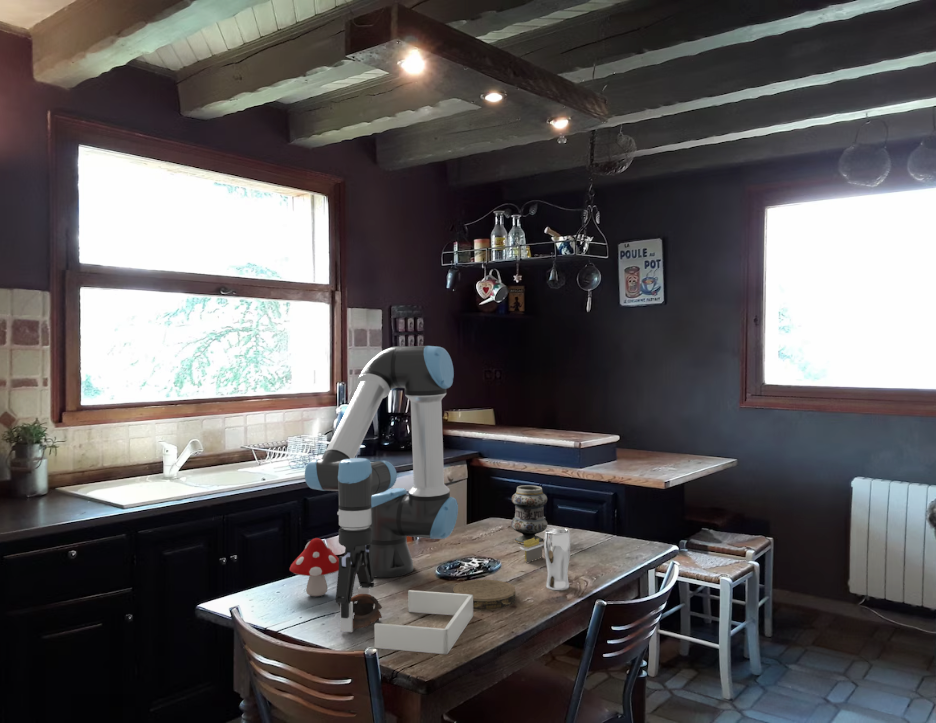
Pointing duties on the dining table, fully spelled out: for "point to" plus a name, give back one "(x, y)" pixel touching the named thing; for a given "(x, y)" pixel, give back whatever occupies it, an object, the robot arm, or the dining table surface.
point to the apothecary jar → (529, 512)
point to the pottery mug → (365, 610)
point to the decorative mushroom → (316, 566)
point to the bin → (426, 636)
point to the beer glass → (557, 557)
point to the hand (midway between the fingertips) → (355, 623)
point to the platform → (532, 549)
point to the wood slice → (487, 593)
